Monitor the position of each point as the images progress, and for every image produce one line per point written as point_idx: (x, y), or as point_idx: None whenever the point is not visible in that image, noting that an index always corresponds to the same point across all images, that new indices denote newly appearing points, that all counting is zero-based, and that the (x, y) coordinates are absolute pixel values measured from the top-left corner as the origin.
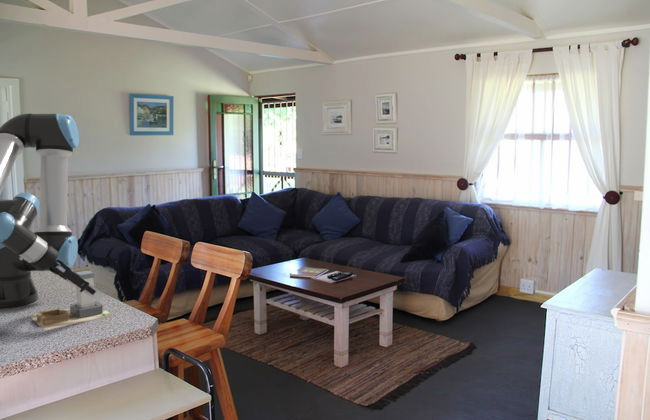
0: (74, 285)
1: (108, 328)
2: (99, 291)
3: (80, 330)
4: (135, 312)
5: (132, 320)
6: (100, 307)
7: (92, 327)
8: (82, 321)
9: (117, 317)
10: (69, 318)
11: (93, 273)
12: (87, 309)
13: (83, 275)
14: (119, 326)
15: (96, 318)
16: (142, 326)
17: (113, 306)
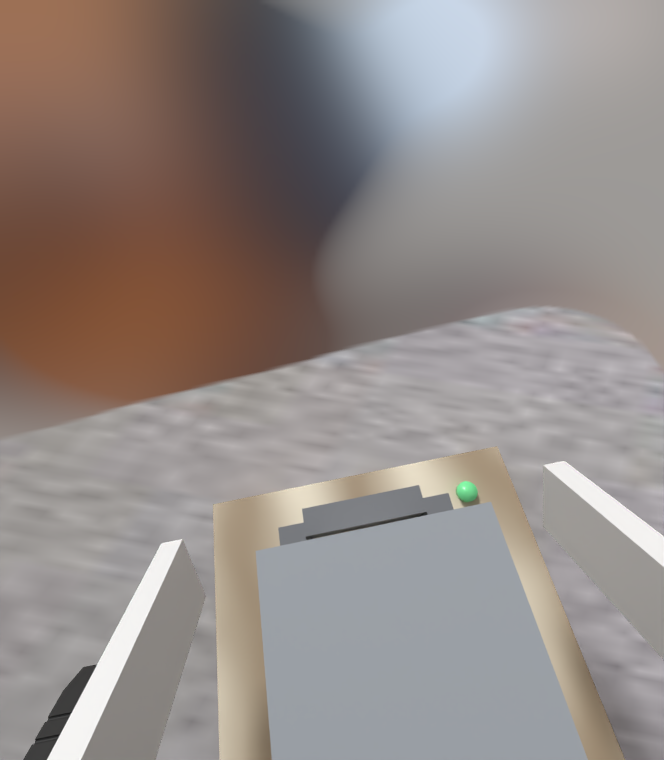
0: (164, 715)
1: (636, 505)
2: (613, 499)
3: (644, 681)
4: (405, 347)
5: (527, 377)
6: (449, 503)
7: (595, 590)
8: (567, 655)
9: (451, 430)
10: None
11: (487, 507)
12: None
13: (573, 732)
14: (611, 447)
15: (525, 550)
16: (635, 355)
17: (257, 417)
